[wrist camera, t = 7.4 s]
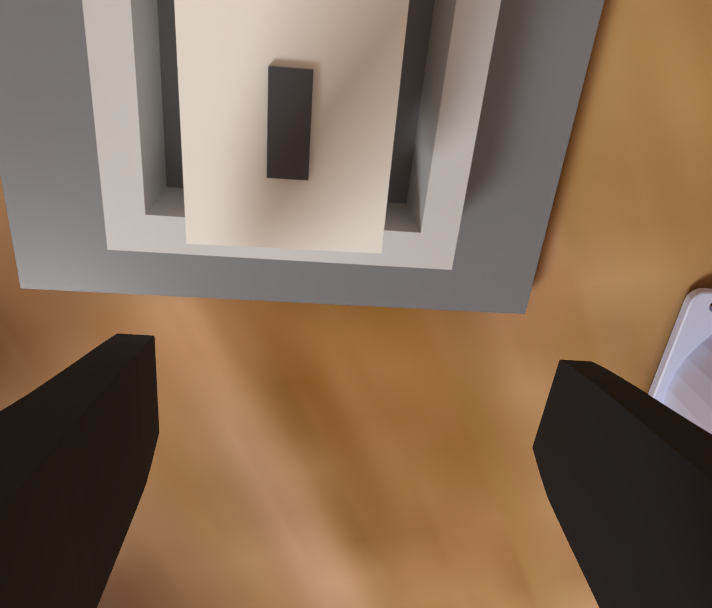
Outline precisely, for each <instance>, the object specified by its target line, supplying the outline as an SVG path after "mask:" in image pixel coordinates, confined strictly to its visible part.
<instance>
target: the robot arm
mask: <svg viewBox="0 0 712 608" xmlns="http://www.w3.org/2000/svg"><path fill="white" fill-rule="evenodd" d="M711 303H712V288H698V289H695V290H693V291H691V292H690V293H689V294H688V295H687V296H686V298H685V300H684V302H683V305H682V307H681V310H680V313H679V315H678V318H677V320H676V323H675V325H674V328H673V331H672V333H671V336H670V338H669V341H668V344H667V346H666V349H665V351H664V354H663V357H662V359H661V362H660V364H659V367H658V369H657V372H656V375H655V377H654V380H653V382H652V385H651V388H650V390H649V393H648V394H647V393H645V392H644V391H642V390H640V389H639V388H637V387H636V386H634V385H632V384H631V383H629V382H628V381H626V380H624V379H623V378H621V377H619V376H618V375H616V374H614V373H613V372H611V371H609V370H607V369H605V368H604V367H602V366H600V365H598V364H596V363H594V362H591V361H574V360H560V361H559V364H558V367H557V370H556V373H555V377H554V380H553V383H552V386H551V389H550V393H549V396H548V399H547V402H546V406H545V409H544V412H543V415H542V418H541V422H540V425H539V428H538V431H537V435H536V438H535V441H534V444H533V447H532V448H533V451H534V455H535V458H536V462H537V465H538V469H539V472H540V475H541V478H542V481H543V485H544V488H545V491H546V494H547V497H548V499H549V501H550V503H551V506H552V508H553V510H554V512H555V514H556V517H557V519H558V521H559V523H560V525H561V527H562V530H563V532H564V534H565V536H566V538H567V540H568V542H569V545H570V547H571V549H572V551H573V553H574V555H575V557H576V559H577V561H578V563H579V566H580V568H581V570H582V572H583V574H584V576H585V578H586V580H587V582H588V585H589V587H590V589H591V591H592V593H593V595H594V597H595V599H596V601H597V603H598V606H599V608H712V306H711V307H709V306H710V304H711ZM158 435H159V418H158V398H157V378H156V358H155V338H154V336H149V335H132V334H116V335H114V336H113V337H111V338H109V339H108V340H106V341H105V342H103V343H102V344H100V345H99V346H98V347H96V348H95V349H93V350H92V351H90V352H89V353H88V354H86V355H85V356H83V357H82V358H81V359H79V360H78V361H76V362H75V363H73V364H72V365H71V366H69V367H68V368H66V369H65V370H63V371H62V372H60V373H59V374H57V375H56V376H54V377H53V378H51V379H50V380H49V381H47V382H46V383H44V384H43V385H41V386H40V387H38V388H37V389H35V390H34V391H32V392H31V393H29V394H28V395H26V396H24V397H23V398H21V399H20V400H18V401H16V402H15V403H13V404H11V405H10V406H8V407H7V408H5V409H3V410H2V411H0V608H97V606H98V604H99V601H100V599H101V596H102V594H103V591H104V589H105V586H106V584H107V581H108V579H109V576H110V574H111V571H112V569H113V566H114V564H115V561H116V559H117V556H118V554H119V551H120V549H121V546H122V544H123V541H124V539H125V536H126V534H127V531H128V529H129V526H130V524H131V521H132V519H133V516H134V514H135V511H136V509H137V506H138V503H139V501H140V498H141V496H142V493H143V491H144V488H145V485H146V482H147V478H148V475H149V471H150V467H151V463H152V460H153V455H154V451H155V447H156V443H157V439H158Z"/></svg>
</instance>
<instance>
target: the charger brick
mask: <svg viewBox="0 0 712 608" xmlns="http://www.w3.org/2000/svg"><path fill="white" fill-rule="evenodd" d="M408 7H409V0H174V8H175V28H176V47H177V67H178V87H179V107H180V127H181V147H182V166H183V186H184V206H185V226H186V244H199V245H220V246H240V247H260V248H280V249H301V250H321V251H341V252H361V253H382V243H383V234H384V225H385V216H386V207H387V198H388V189H389V180H390V171H391V161H392V152H393V143H394V134H395V125H396V116H397V107H398V98H399V89H400V80H401V70H402V61H403V52H404V43H405V34H406V25H407V16H408Z"/></svg>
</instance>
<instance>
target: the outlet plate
mask: <svg viewBox="0 0 712 608" xmlns="http://www.w3.org/2000/svg"><path fill="white" fill-rule="evenodd" d="M603 4H604V0H409V7H408V16H407V25H406V34H405V43H404V52H403V61H402V70H401V80H400V89H399V98H398V107H397V116H396V125H395V134H394V143H393V152H392V161H391V171H390V180H389V189H388V198H387V207H386V216H385V225H384V234H383V243H382V253H361V252H341V251H321V250H301V249H280V248H260V247H240V246H220V245H199V244H186V226H185V206H184V186H183V166H182V147H181V127H180V107H179V87H178V67H177V47H176V28H175V8H174V0H0V175H1V181H2V186H3V192H4V197H5V203H6V209H7V214H8V220H9V225H10V231H11V237H12V242H13V248H14V253H15V259H16V265H17V270H18V276H19V281H20V287H21V288H24V289H44V290H64V291H83V292H103V293H122V294H142V295H162V296H181V297H201V298H221V299H240V300H260V301H279V302H299V303H319V304H338V305H358V306H377V307H397V308H417V309H436V310H456V311H475V312H495V313H515V314H525V312H526V308H527V304H528V300H529V296H530V292H531V288H532V284H533V280H534V276H535V272H536V268H537V264H538V260H539V256H540V252H541V249H542V245H543V241H544V237H545V233H546V229H547V225H548V221H549V217H550V213H551V209H552V205H553V201H554V197H555V193H556V189H557V185H558V181H559V177H560V174H561V170H562V166H563V162H564V158H565V154H566V150H567V146H568V142H569V138H570V134H571V130H572V126H573V122H574V118H575V114H576V110H577V106H578V103H579V99H580V95H581V91H582V87H583V83H584V79H585V75H586V71H587V67H588V63H589V59H590V55H591V51H592V47H593V43H594V39H595V35H596V32H597V28H598V24H599V20H600V16H601V12H602V8H603Z"/></svg>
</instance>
